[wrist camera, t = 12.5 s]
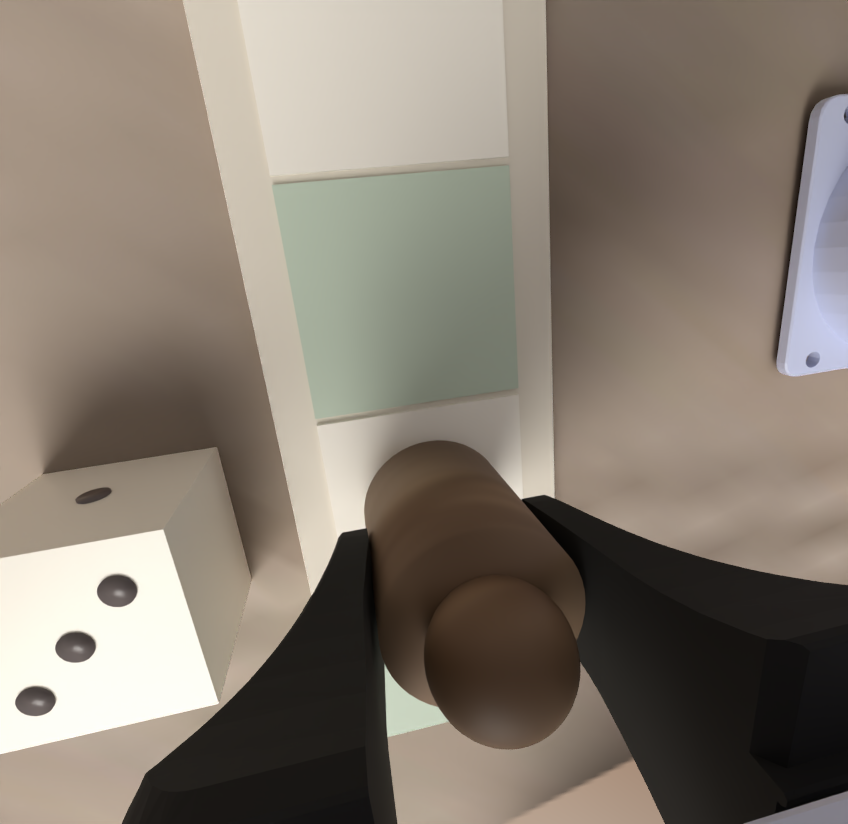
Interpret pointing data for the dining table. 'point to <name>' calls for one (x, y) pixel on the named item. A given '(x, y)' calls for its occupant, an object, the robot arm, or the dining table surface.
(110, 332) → the dining table surface
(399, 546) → the pawn
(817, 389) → the dining table surface
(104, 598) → the die
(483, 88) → the board
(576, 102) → the dining table surface
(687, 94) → the dining table surface
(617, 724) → the robot arm
